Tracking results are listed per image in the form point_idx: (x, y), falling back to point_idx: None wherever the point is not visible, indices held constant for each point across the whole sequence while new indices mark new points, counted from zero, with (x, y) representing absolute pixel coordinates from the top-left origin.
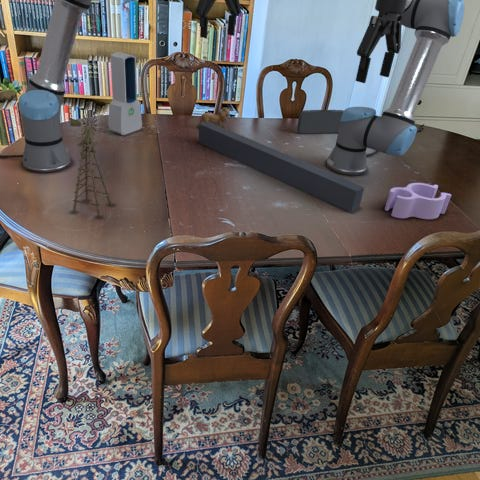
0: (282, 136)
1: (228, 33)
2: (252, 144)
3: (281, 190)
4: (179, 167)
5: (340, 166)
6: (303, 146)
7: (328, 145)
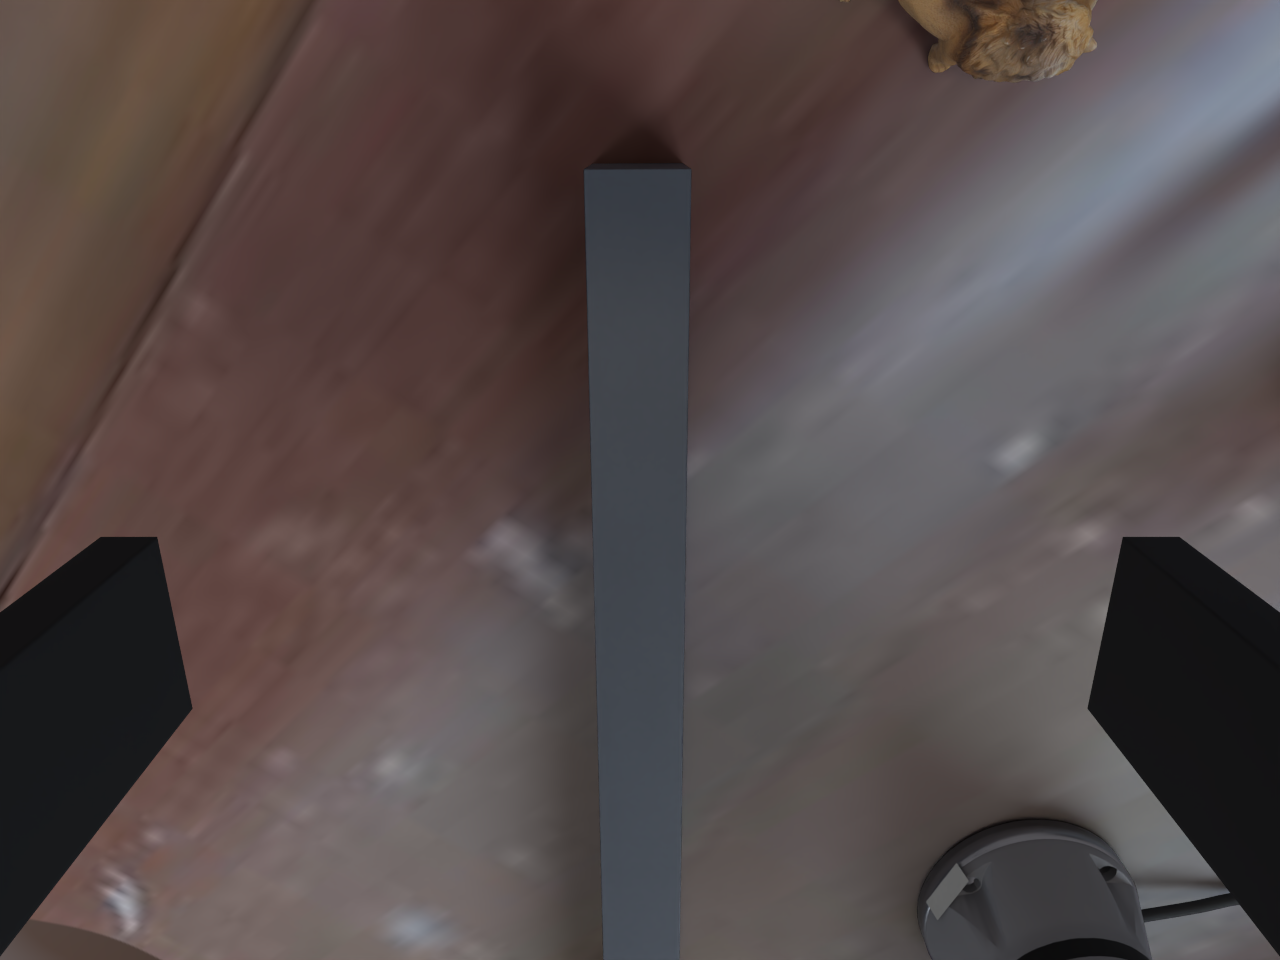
0: (1194, 435)
1: (1132, 581)
2: (625, 674)
3: (523, 867)
4: (224, 414)
5: (931, 945)
6: None
7: None
